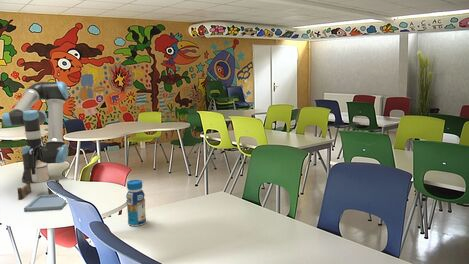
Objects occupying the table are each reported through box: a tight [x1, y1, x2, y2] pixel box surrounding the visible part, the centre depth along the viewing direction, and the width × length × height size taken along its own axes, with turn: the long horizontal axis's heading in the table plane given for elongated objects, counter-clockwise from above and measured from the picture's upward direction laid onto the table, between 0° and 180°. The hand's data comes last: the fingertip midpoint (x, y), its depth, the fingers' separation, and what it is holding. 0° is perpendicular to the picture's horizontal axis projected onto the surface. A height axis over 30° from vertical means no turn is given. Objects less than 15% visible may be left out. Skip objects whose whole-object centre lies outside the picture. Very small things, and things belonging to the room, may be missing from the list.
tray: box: [23, 193, 68, 213], centre depth 211 cm, size 20×18×2 cm
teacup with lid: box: [31, 160, 50, 183], centre depth 226 cm, size 12×9×12 cm
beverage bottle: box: [125, 179, 147, 227], centre depth 181 cm, size 8×8×20 cm
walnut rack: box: [16, 179, 60, 201], centre depth 226 cm, size 14×18×6 cm
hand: (38, 176), depth 225 cm, fingers closed on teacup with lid, 9 cm apart
